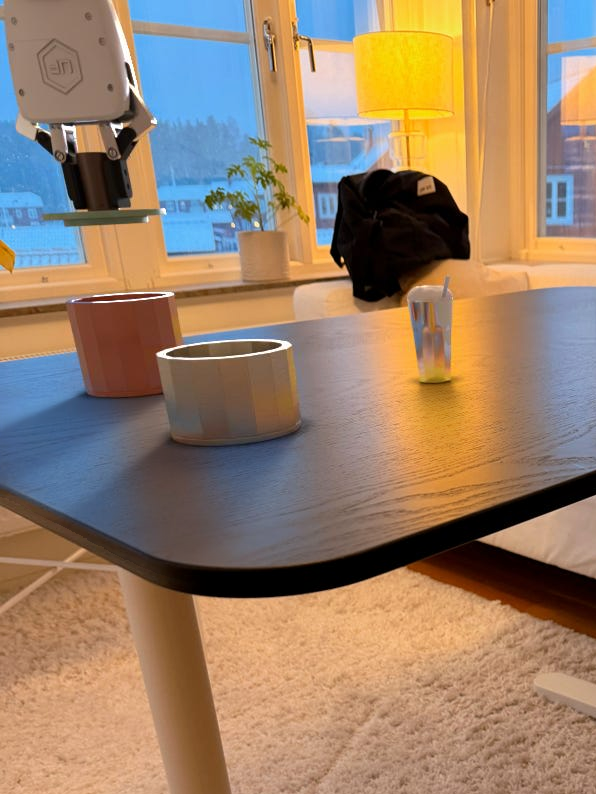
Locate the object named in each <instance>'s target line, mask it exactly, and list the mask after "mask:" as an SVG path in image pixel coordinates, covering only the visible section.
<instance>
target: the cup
mask: <svg viewBox="0 0 596 794" xmlns="http://www.w3.org/2000/svg"><path fill="white" fill-rule="evenodd" d="M65 307H66V311H67V316H68V320H69V323H70V324H69V325H70V328H71V333H72V337H73V342H74V345H75V351H76V354H77V358H78V359H77V360H78V362H79V363H78V364H79V367H80V370H81V375H82V380H83V384H84V388H85V390H86V394H87V395H88V396H91V397H96V398H131V397H142V396H143V397H144V396H151V395H157V394H159V395H160V394H164V393H163V388H162V383H161V378H160V373H159V368H158V362H157V357H156V353H158V352H161V351H163V350H165V349H169V348H174V347H179V346H184V345H185V344H184V340H183V334H182V329H181V323H180V318H179V313H178V307H177V301H176V296H175V294H174V293H173V292H165V291H164V292H163V291H162V292H156V291H155V292H154V291H153V292H149V291H148V292H128V293H112V294H101V295H92V296H90V295H89V296H84V297H77V298H72V299H66V301H65Z"/></svg>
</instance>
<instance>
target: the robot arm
mask: <svg viewBox="0 0 596 794" xmlns="http://www.w3.org/2000/svg"><path fill="white" fill-rule="evenodd" d="M114 5H115V4H114V2H113V1H112V0H3V22H4V33H5V34H4V35H5V43H6V49H7V57H8V63H9V68H10V75H11V81H12V86H13V92H14V96H15V100H16V101H15V102H16V104H17V105H16V106H17V108H18V111H17V116H16V120H15V131H16V132H17V133H18V134H19V135H21V136H23V137H25V138H27V139H29V140H31V141H32V142H35V143H37V144H39V145H40V146H41V147H42V148H43V149H44V150H45V151H46V152H48V153H49V154H50V155H51V156H52V157H53V158H54V160H55V161H56V162H57V163H58V164H60V167H61V170H62V171H61V172H62V175H63V179H64V184H65V189H66V193H67V196H68V198H69V200H70V201H71V202H72V205H73V208H74V209H75V210H76V211H85V210H87V205H86V201H85V196H84V192H83V187H82V182H81V178H80V173H79V169H78V164H77V159H76V155H75V153H79V149H78V141H77V133H76V127H82V126H83V127H86V126H98V129H99V133H100V136H101V140H102V143H103V147H104V149H105V152H106V153H107V154H106V157H107V161H104V163H103V167H104V172H105V176H106V181H107V186H108V191H109V196H110V201H111V205H112V206H113V207H114V208H120V209H128V208H129V209H130V208H131V207H132V202H131V199H132V198H133V197H134V196H133V193H134V192H133V187H132V183H131V178H130V177H131V176H130V172H129V166H128V161H130V159H131V154H132V152H133V150H134V149H135V148H136V147H137V145H138V143H139V141H140V139H141V138H143V137H145V136H146V135H147V134H148V133H150V132H152V130H154V129H155V128H156V126H157V120H156V118H155V117H154V115H153V113H152V112H151V110H150V109H149V107H148V105H147V104H146V103H145V101H144V100H143V98H142V97H141V95H140V93H139V88H138V83H137V80H136V75H135V71H134V67H133V64H132V63H133V62H132V60H131V56H130V51H129V48H128V45H127V41H126V38H125V34H124V32H123V29H122V26H121V23H120V20H119V16H118V13H117V11H116V8H115V6H114ZM128 123H129V124H128ZM41 124H42V125H48V127H49V131H48V130H45V129H44V128H42V127H41V126H40V125H41ZM123 124H127V125H126V126H124V127H123ZM87 211H88V210H87Z"/></svg>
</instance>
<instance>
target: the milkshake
mask: <svg viewBox="0 0 596 794" xmlns="http://www.w3.org/2000/svg"><path fill="white" fill-rule="evenodd" d="M450 278H451V276H450V275H446V276H445V280H444V285H429V284H428V285H427V284H423V285H416V286H413V288H411V289H410V290H409V291H408V293H407V295H406V300H407V301H406V302H407V306H408V312H409V319H410V325H411V328H412V334H413V342H414V349H415V356H416V362H417V370H418V371H417V372H418V377H419V378H418V379H419V382H420V383H425V384H437V383H438V384H439V383H445V382H449V381H451V380H452V379H451V377H452V327H453V310H454V309H453V308H454V307H453V306H454V294H453V292H452V291H451V290H450V289H449V283H450Z"/></svg>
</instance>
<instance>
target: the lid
mask: <svg viewBox="0 0 596 794" xmlns="http://www.w3.org/2000/svg"><path fill="white" fill-rule="evenodd" d="M106 154H107V153H106V151H85V152H84V151H83V152H78V153H75V155H76V159H77V164H78V169H79V173H80V178H81V182H82V187H83V192H84V196H85V201H86V205H87V211H71V212H69V211H67V212H55V213H54V212H51V213H42V214H41V218H42V219H41V220H42V221H43V222H49V221H51V222H52V221H62V222H63V227H64V228H71V227H73V228H74V227H91V226H92V227H93V226H94V227H95V226H111V225H112V226H113V225H131V224H132V225H133V224H147V223H149V217H151V216H152V217H155V216H156V217H157V216H166V215H167V212H166V209H165V208H164V207H162V208H161V207H160V208H159V207H158V208H157V207H156V208H136V209H135V208H133V209H132V208H131V209H121V208H114V207H113V206H112V205H111V201H110V196H109V191H108V186H107V181H106V176H105V172H104V167H103V163H104V161H107V157H106Z"/></svg>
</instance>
